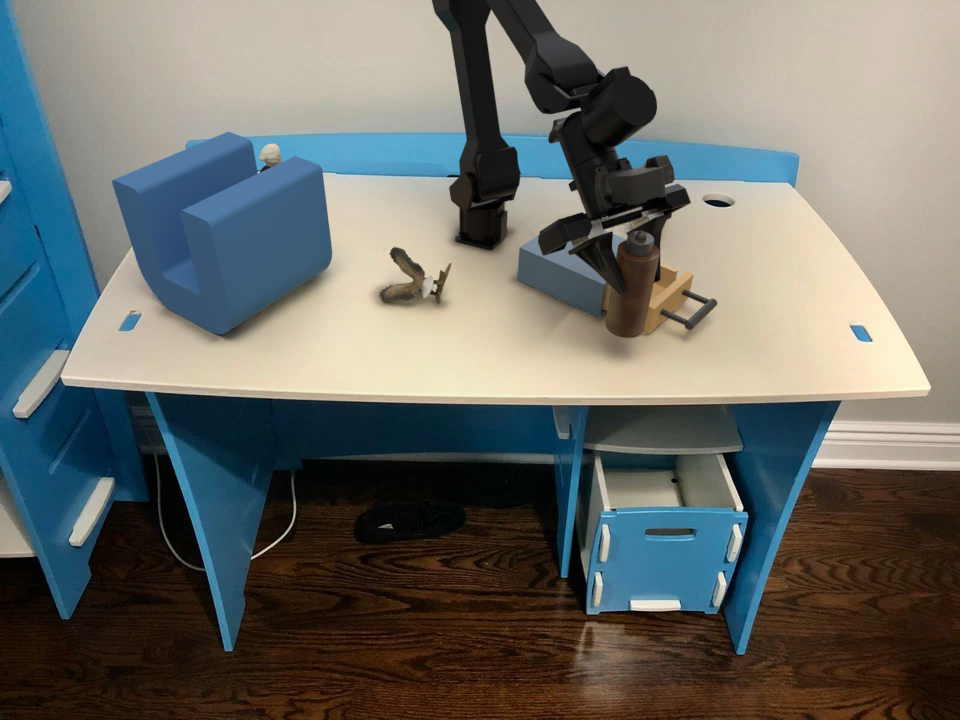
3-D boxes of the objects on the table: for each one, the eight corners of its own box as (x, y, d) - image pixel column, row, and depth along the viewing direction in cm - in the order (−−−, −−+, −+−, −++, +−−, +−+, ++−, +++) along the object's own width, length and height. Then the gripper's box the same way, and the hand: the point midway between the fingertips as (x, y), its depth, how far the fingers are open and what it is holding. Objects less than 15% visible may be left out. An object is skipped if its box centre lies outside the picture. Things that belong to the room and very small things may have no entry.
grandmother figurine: (308, 221, 121) (297, 146, 113) (291, 231, 119) (279, 155, 111) (273, 208, 125) (260, 133, 116) (256, 217, 122) (241, 142, 114)
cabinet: (644, 281, 110) (650, 248, 106) (598, 318, 103) (603, 284, 99) (564, 247, 117) (568, 215, 113) (517, 280, 110) (519, 247, 106)
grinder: (600, 331, 93) (615, 236, 84) (611, 310, 96) (627, 217, 87) (638, 342, 91) (658, 246, 83) (648, 320, 95) (668, 226, 86)
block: (336, 283, 108) (321, 165, 97) (238, 347, 97) (209, 222, 85) (248, 243, 116) (225, 130, 104) (148, 299, 104) (110, 178, 93)
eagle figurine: (451, 274, 108) (391, 256, 109) (452, 254, 101) (388, 234, 102) (435, 322, 106) (374, 303, 106) (435, 305, 99) (369, 285, 100)
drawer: (720, 311, 103) (726, 287, 101) (682, 348, 97) (688, 323, 94) (608, 263, 112) (611, 240, 109) (566, 295, 106) (568, 271, 103)
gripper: (562, 152, 77) (615, 295, 77) (697, 117, 85) (745, 248, 85) (515, 190, 88) (562, 316, 88) (639, 156, 95) (683, 272, 95)
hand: (640, 287), depth 89 cm, fingers closed on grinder, 5 cm apart
